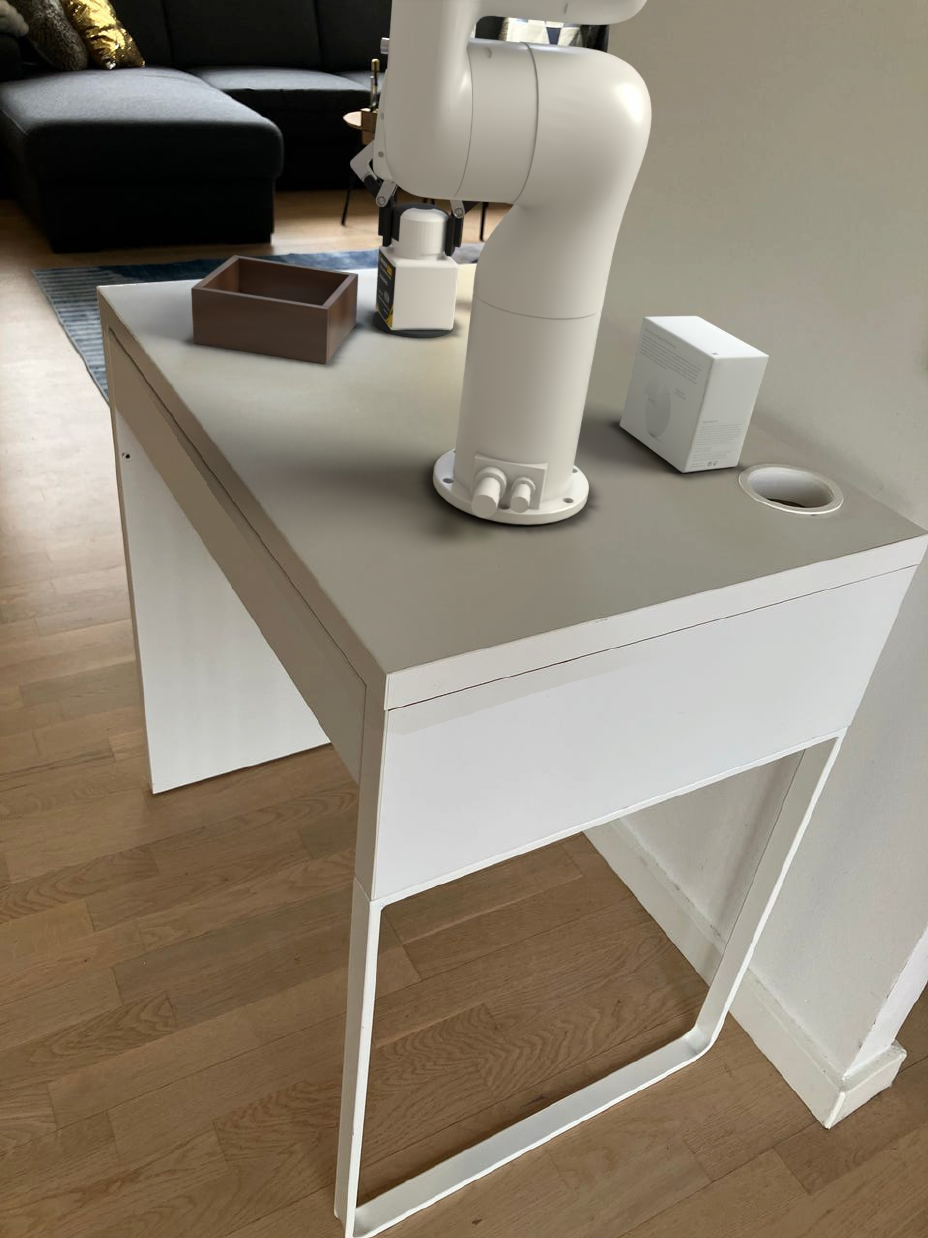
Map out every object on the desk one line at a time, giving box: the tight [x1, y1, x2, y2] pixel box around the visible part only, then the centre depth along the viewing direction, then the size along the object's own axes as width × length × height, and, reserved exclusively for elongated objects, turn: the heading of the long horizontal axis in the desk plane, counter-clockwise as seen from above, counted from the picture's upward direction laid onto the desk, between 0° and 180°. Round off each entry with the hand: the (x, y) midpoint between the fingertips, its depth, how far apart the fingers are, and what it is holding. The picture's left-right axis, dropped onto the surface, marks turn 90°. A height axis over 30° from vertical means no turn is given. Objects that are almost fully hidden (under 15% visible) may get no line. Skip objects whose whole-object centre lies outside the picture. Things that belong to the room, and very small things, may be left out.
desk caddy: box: [190, 254, 359, 365], centre depth 106 cm, size 13×14×6 cm
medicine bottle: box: [375, 202, 460, 330], centre depth 110 cm, size 7×7×12 cm
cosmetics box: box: [619, 315, 770, 474], centre depth 91 cm, size 10×6×10 cm, turn 25°
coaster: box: [372, 310, 455, 339], centre depth 114 cm, size 9×9×1 cm
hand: (419, 246), depth 109 cm, fingers closed on medicine bottle, 6 cm apart
